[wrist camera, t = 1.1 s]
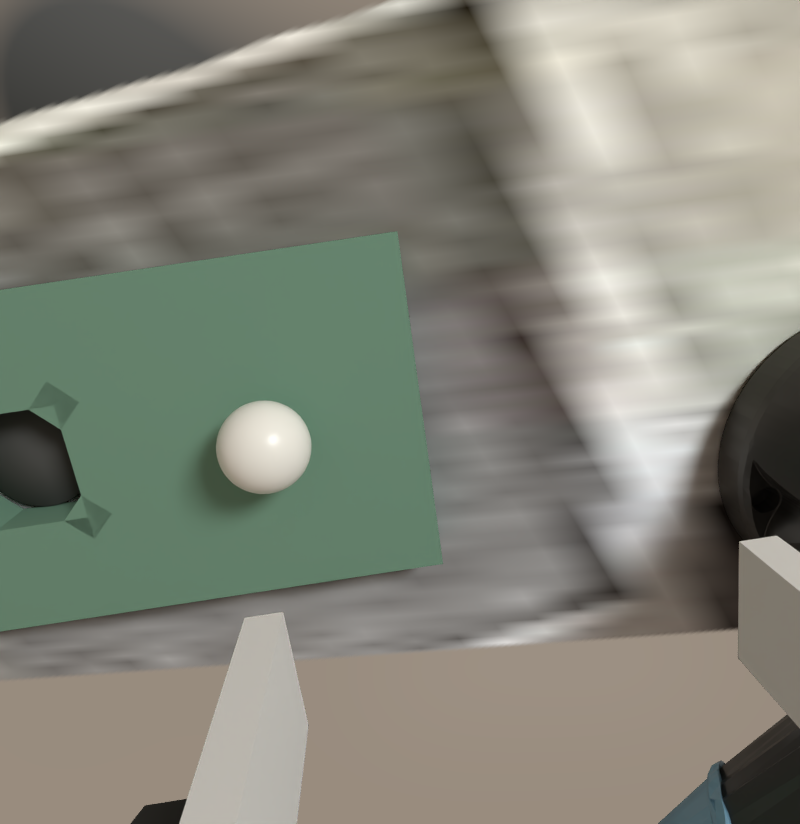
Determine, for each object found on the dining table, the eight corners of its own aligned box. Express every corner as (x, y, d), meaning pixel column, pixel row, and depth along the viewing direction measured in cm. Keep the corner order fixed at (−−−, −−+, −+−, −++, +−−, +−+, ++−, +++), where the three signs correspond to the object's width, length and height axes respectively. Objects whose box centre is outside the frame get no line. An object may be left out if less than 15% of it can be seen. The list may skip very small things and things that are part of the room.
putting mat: (394, 231, 29) (397, 231, 27) (437, 540, 33) (442, 563, 31) (-165, 314, 29) (-214, 321, 26) (-48, 614, 33) (-80, 643, 31)
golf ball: (330, 416, 29) (324, 444, 25) (290, 487, 30) (278, 525, 26) (251, 374, 28) (233, 397, 24) (212, 449, 29) (188, 482, 25)
